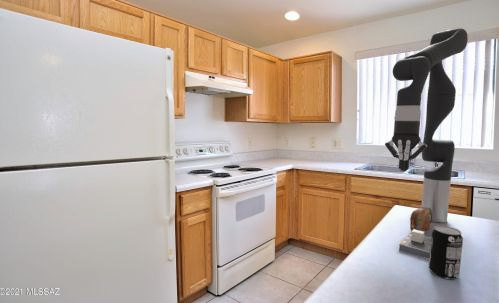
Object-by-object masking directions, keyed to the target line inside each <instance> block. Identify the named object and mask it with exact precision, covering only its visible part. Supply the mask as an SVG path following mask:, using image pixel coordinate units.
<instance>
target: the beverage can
mask: <svg viewBox="0 0 499 303" xmlns="http://www.w3.org/2000/svg"><path fill="white" fill-rule="evenodd" d="M430 238H431V249H430V259H428V260H429V263H428V268H429V270H430V271H431V273H432V274H434V275H436V276H437V277H440V278H442V279H447V280H455V279H457V278H458V277H459V276H460V271H461V270H460V269H461V264H462V263H461V261H462V252H463V243H464V242H463V240H464V238H463V236H462V231H460V230H459V229H457V228H455V227H452V226H448V225H447V226H446V225H435V226H434V228H433V230H432V231H431V237H430Z"/></svg>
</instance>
